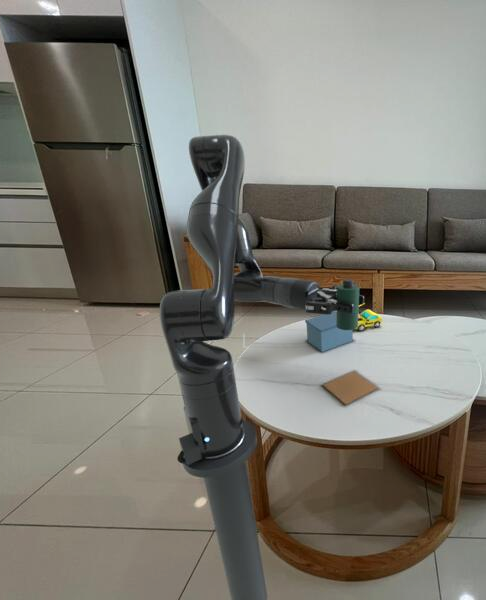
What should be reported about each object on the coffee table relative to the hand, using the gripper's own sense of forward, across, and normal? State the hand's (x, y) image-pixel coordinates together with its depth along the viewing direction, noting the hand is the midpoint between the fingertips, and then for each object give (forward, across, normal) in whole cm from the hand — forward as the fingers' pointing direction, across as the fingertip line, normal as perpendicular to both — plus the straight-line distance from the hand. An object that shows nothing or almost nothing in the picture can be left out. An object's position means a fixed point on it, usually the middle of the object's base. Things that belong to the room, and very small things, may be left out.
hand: (358, 304), depth 75 cm
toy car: (-14, +35, +24) cm, 45 cm away
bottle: (-3, 0, +6) cm, 7 cm away
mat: (-2, -1, +24) cm, 24 cm away
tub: (-19, +20, +24) cm, 37 cm away
